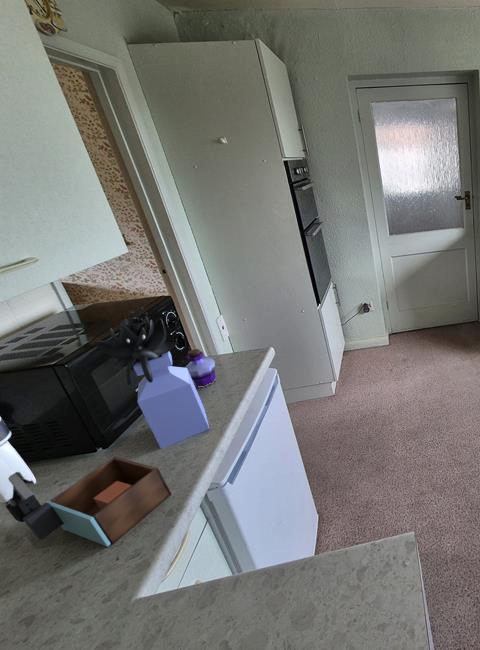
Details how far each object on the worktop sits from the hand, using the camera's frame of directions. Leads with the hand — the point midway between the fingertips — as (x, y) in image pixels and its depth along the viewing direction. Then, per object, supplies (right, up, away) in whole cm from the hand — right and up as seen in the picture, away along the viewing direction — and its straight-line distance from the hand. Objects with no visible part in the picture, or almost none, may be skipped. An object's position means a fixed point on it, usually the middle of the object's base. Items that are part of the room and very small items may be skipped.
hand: (30, 514), depth 72 cm
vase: (+7, +6, +30) cm, 32 cm away
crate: (+11, -3, +8) cm, 14 cm away
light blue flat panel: (+8, -6, 0) cm, 10 cm away
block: (+11, -3, +8) cm, 13 cm away
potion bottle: (0, +15, +51) cm, 53 cm away
